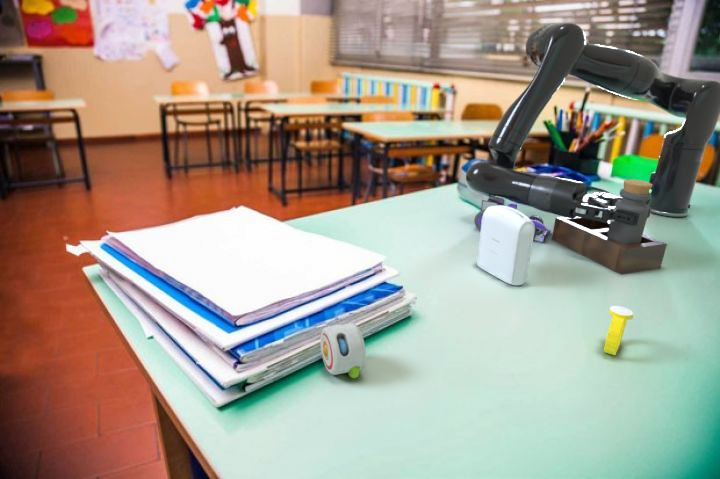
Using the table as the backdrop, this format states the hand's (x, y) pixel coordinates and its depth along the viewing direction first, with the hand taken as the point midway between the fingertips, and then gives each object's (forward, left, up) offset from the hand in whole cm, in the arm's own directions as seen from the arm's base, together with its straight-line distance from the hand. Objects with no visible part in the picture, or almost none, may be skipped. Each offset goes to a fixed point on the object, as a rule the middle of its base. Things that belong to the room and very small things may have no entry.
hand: (644, 216), depth 91 cm
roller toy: (+15, -64, -10) cm, 66 cm away
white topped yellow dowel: (+22, -28, -10) cm, 37 cm away
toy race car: (-22, -11, -10) cm, 27 cm away
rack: (-6, -1, -10) cm, 12 cm away
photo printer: (-3, -28, -10) cm, 30 cm away
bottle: (-2, -1, -9) cm, 10 cm away
